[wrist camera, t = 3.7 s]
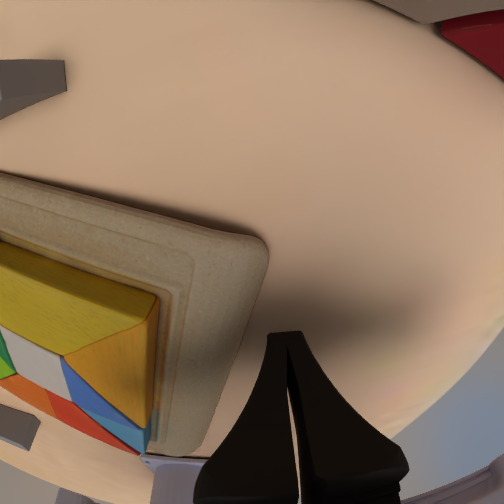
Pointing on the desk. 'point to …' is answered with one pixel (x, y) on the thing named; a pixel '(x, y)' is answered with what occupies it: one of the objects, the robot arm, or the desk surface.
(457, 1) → the grey and red box
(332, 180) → the desk surface
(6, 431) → the bay
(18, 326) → the wooden puzzle
